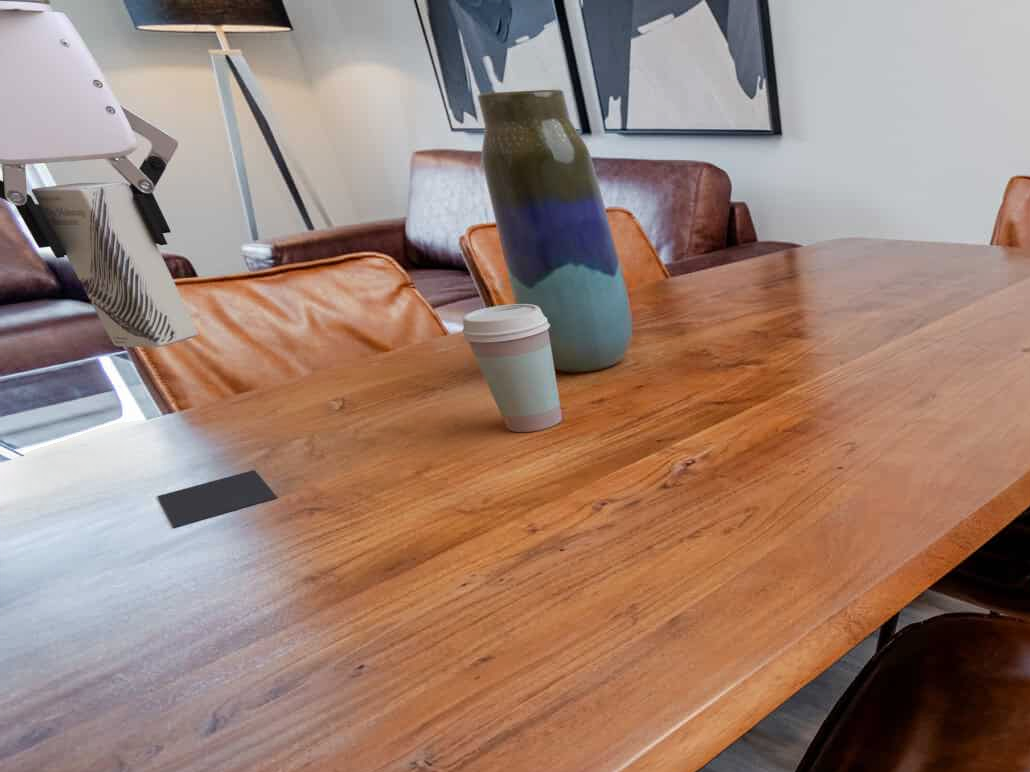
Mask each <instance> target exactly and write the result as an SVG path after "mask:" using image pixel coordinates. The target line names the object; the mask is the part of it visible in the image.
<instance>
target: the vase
mask: <svg viewBox="0 0 1030 772" xmlns="http://www.w3.org/2000/svg"><path fill="white" fill-rule="evenodd" d="M477 100H478V104H479V109H480V112H481V116H482V120H483V125H484V133H483V140H482V148H481V163H482V169H483V174H484V177H485V181H486V185H487V190H488V194H489V199H490V203H491V208H492V212H493V216H494V220H495V225H496V229H497V233H498V239H499V242H500V247H501V250H502V256H503V259H504V263H505V267H506V272H507V276H508V279H509V284H510V289H511V293H512V296H513V300H514V304H532V305H536V306H538V307H539V308H540V309H541V311H542V313H543V315H544V316H545V317H546V318H547V320H548V321H547V322H548V323H549V324H550V327H549V328H548V332H549V338H550V344H551V351H552V357H553V363H554V370H556V371H559V372H564V373H586V372H593V371H600V370H603V369H607V368H610V367H612V366H614V365H616V364H618V363H620V362H621V361H622V360H623V359H624V357H625V356H626V354H627V353H628V351H629V348H630V346H631V342H632V339H633V335H634V334H633V332H634V325H633V323H634V322H633V313H632V308H631V302H630V297H629V293H628V290H627V286H626V281H625V278H624V274H623V270H622V266H621V262H620V259H619V255H618V251H617V248H616V244H615V240H614V236H613V233H612V229H611V226H610V221H609V218H608V214H607V209H606V207H605V203H604V199H603V196H602V195H603V194H602V192H601V187H600V184H599V180H598V177H597V173H596V170H595V166H594V161H593V159H592V156H591V153H590V150H589V148H588V145H587V144H586V142H585V141H584V139H583V138H582V137H581V135H580V133H579V131H578V130H577V129H576V127H575V125H574V124H573V122H572V120H571V117H570V113H569V109H568V105H567V100H566V97H565V93H564V91H563V90H562V89H537V90H535V89H534V90H520V91H519V90H517V91H502V92H501V91H500V92H499V91H498V92H485V93H484V92H483V93H479V94H478V95H477Z"/></svg>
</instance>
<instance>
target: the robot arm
mask: <svg viewBox="0 0 1030 772" xmlns="http://www.w3.org/2000/svg"><path fill="white" fill-rule="evenodd" d="M134 132H135V133H136V134H138V135H140V136H141V137H143V138H145V139H146V140H148V141H149V142H150V145H151V147H150V150H149V152H148V154H147V155H146V156H145V158H144V159H143V161H142V163H141V165H140V166H139V167H138V166H137V165H136V164H135V163H134V162H133V161H132V160H131V159H130V158H129V155H131V154H132V153H134V152H136V150H137V149H138V142H137V137H136V135H135V133H134ZM178 146H179V142H178V140H177V139H176V138H175V137H173V136H172V135H171V134H169V133H168V132H166V131H164V130H162V129H161V128H159V127H158V126H156V125H154V124H153V123H151V122H149V121H147V120H146V119H144V118H143V117H141V116H139V115H137V114H136V113H134V112H133V111H131V110H129V109H128V108H126V107H125V106H123V105H122V104H120V102H119V100H118V99H117V97H116V95H115V93H114V91H113V89H112V88H111V86H110V84H109V82H108V80H107V77H105V75H104V73H103V70H102V69H101V68H100V66H99V64H98V62H97V61H96V59H95V57H94V56H93V54H92V53H91V51H90V50H89V48H88V46H87V45H86V43H85V41H84V40H83V38H82V37H81V35H80V33H79V32H78V31H77V29H76V27H75V26H74V24H73V23H72V22H71V20H70V19H69V18H68V16H67V15H66V13H64V12H60V11H54V9H53V8H52V5H51V0H0V165H1V171H2V172H1V173H2V179H0V199H2V200H3V201H6V202H8V203H10V204H12V205H14V206H15V208H16V210H17V212H18V213H19V215H20V217H21V219H22V221H23V222H24V224H25V226H26V228H27V230H28V232H29V233H30V235H31V236H32V238H33V240H34V242H35V243H36V246H37V247H38V249H42V248H50V250H51V252H52V253H53V256H55V258H56V259H62V258H65V257H66V255H67V254H66V252H65V250H64V249H63V247H62V245H61V243H60V241H59V239H58V238H57V236H56V234H55V232H54V230H53V228H52V227H51V225H50V223H49V221H48V219H47V218H46V216H45V214H44V212H43V210H42V208H41V207H40V205H39V204H38V203H36V202H35V200H34V199H33V197H32V195H30V194H28V191H27V189H28V188H27V174H26V173H27V171H26V170H27V169H26V165H36V164H37V165H38V164H50V163H63V162H78V161H90V160H104V159H105V160H106V161H107V162H108V163H109V164H110V165H111V167H112V168H114V170H115V171H116V172H118V174H120V176H122V178H123V179H125V180H126V181H127V183H129V188H130V190H131V192H132V194H133V197H134V199H135V201H136V203H137V205H138V208H139V210H140V212H141V214H142V216H143V218H144V220H145V222H146V224H147V226H148V228H149V230H150V232H151V234H152V236H153V239H154V241H155V243H156V245H159V246H167V245H168V242H167V239H166V237H165V235H164V234H170V233H172V232H171V229H170V226H169V224H168V222H167V220H166V218H165V216H164V214H163V212H162V209H161V207H160V205H159V203H158V201H157V199H156V197H155V195H154V191H155V189H156V187H157V185H158V182H159V181H160V179H161V177H162V176H163V174H164V172H165V170H166V169H167V166H168V164H169V162H171V159H172V157H173V156H174V154H175V153H176V150H177V148H178Z"/></svg>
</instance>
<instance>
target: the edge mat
mask: <svg viewBox="0 0 1030 772" xmlns="http://www.w3.org/2000/svg"><path fill="white" fill-rule="evenodd" d="M157 498H158V500H159V502H160V504H161V507H162V508H163V510H164V512H165V514H166V516H167V518H168V520H169V522H170V524H171V526H172V528H173V529H175V528H178V527H182V526H187V525H189V524H192V523H196V522H199V521H203V520H206V519H209V518H213V517H216V516H220V515H223V514H227V513H231V512H235V511H237V510H238V511H239V510H240V509H245V508H247V507H251V506H254V505H255V506H256V505H258V504H262V503H265V502H268V501H272V500H275V499H278V495H276V494H275V493H274V491H273V490H272V489H271V488H270V487H269V486H268V484H267V483H266V481H264V480H263V478H262V477H261V475H259V473H258V472H257V471H256V470H255V469H251V470H248V471H245V472H241V473H238V474H237V473H236V474H234V475H230V476H226V477H223V478H219V479H216V480H211V481H208V482H203V483H200V484H196V485H193V486H190V487H186V488H182V489H178V490H174V491H171V492H170V491H169V492H167V493H163V494H160V495H159V494H158V495H157Z"/></svg>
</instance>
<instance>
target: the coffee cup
mask: <svg viewBox="0 0 1030 772" xmlns="http://www.w3.org/2000/svg"><path fill="white" fill-rule="evenodd" d="M547 321H548V320H547V318H546V317H545V316H544V315H543V313H542V311H541V309H540V308H539V307H538V306H536V305H532V304H515V303H511V304H503V305H502V304H501V305H496V306H489V307H485V308H480V309H477V310H474V311H471V312H468V313H466V314H464V315H463V317H462V322H463V323H462V325H463V326H462V327H463V328H462V331H461V332H462V333H463V336H462V338H463V339H464V340H465V341H467V342H468V344H469V346H470V349H471V351H472V353H473V356H474V357H475V360H476V362H477V364H478V367H479V369H480V371H481V373H482V376H483V378H484V380H485V382H486V384H487V387H488V389H489V391H490V393H491V395H492V398H493V400H494V402H495V405H496V407H497V409H498V410H499V413H500V415H501V418H502V420H503V422H504V424H505V426H506V428H507V430H509V431H511V432H514V433H531V432H538V431H542V430H546V429H550V428H552V427H554V426H556V425H558V424H559V423H560V422H561V421H562V420H563V415H562V409H561V403H560V395H559V389H558V383H557V377H556V371H555V370H556V369H554V363H553V357H552V351H551V344H550V338H549V332H548V328H549V327H550V324H549V323H548V322H547Z"/></svg>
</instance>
